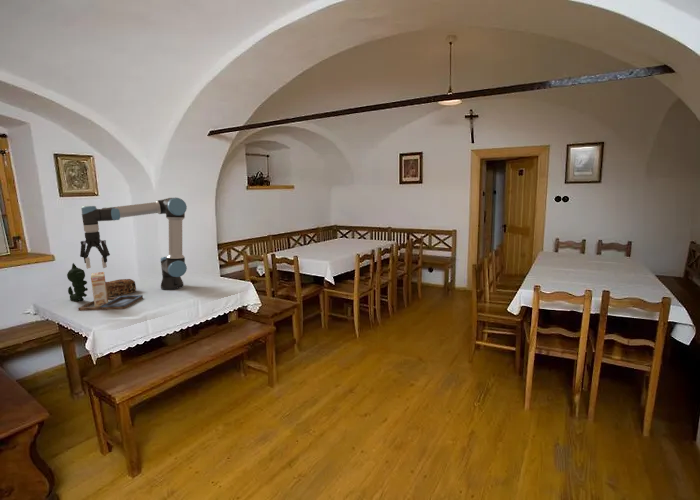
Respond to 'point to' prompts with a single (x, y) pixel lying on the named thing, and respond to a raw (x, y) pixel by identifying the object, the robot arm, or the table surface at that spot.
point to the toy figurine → (77, 283)
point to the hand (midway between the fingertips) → (96, 267)
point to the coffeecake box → (99, 289)
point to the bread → (120, 287)
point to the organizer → (114, 303)
